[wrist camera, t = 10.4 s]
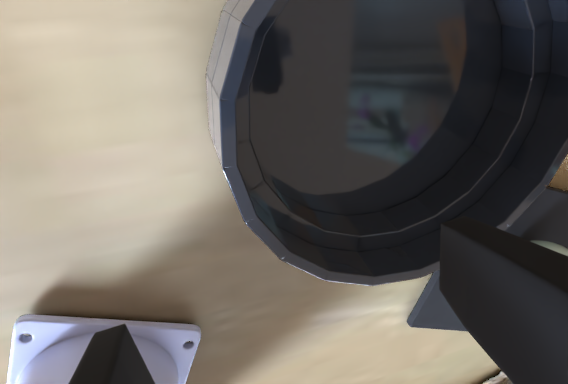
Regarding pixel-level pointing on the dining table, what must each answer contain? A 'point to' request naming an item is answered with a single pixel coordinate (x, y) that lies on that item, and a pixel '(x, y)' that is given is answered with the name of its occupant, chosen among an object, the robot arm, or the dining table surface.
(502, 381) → the blueberries
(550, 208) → the mat
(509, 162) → the basin
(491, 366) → the dining table surface
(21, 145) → the dining table surface
